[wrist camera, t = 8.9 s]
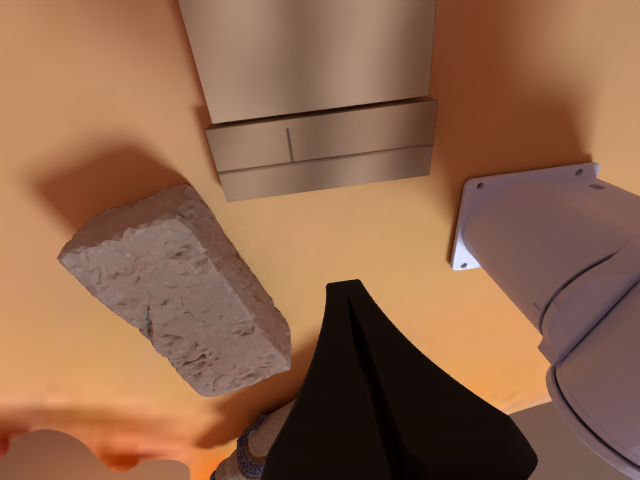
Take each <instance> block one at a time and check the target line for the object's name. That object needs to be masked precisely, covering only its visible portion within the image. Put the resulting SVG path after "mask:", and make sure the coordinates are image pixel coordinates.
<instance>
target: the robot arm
mask: <svg viewBox="0 0 640 480" xmlns="http://www.w3.org/2000/svg"><path fill="white" fill-rule="evenodd" d="M599 169H600V165H599V164H597V163H595V162H589V163H581V164H574V165H567V166H559V167H552V168H545V169H537V170H530V171H523V172H515V173H508V174H501V175H493V176H486V177H479V178H472V179H469V180H468V181H466V183H465V184H464V188H463V194H462V200H461V205H460V211H459V217H458V223H457V228H456V234H455V240H454V245H453V251H452V257H451V262H450V267H451V268H452V269H453V270H455V271H458V270H465V269H472V268H478V267H482V268H483V269H484V270H485V271H486V272H487V273H488V275H489V276H490V277H491V278H492V279H493V280H494V281H495V282H496V284H497V285H498V286H499V287H500V288H501V289H502V290H503V292H504V293H505V294H506V295H507V296H508V297H509V298H510V299H511V301H512V302H513V303H514V304H515V305H516V306H517V307H518V309H519V310H520V311H521V312H522V313H523V314H524V315H525V316H526V318H527V319H528V320H529V321H530V322H531V323H532V324H533V325H534V327H535V328H536V329H537V330H538V331H539V332H540V333H541V335H542V336H543V339H542V341H541V343H540V345H539V346H538V349H539V350H540V352H541V353H542V354H543V355H544V356H545V358H546V359H547V360H548V361H549V362H550V364H551V366H550V367H549V369H548V371H547V373H546V386H547V389H548V392H549V395H550V397H551V399H552V401H553V403H554V405H555V407H556V408H557V410H558V411H559V413H560V414H561V416H562V417H563V419H564V420H565V421H566V423H567V424H568V425H569V427H570V428H571V429H572V430H573V431H574V433H576V435H577V436H578V437H579V438H580V439H581V440H582V441H583V442H584V443H585V444H586V445H587V446H588V447H590V449H592V450H593V451H594V452H595V453H596V454H598V455H599V456H600V457H601V458H603V459H604V460H605V461H607V462H608V463H609V464H611V465H612V466H614V467H615V468H616V469H618V470H619V471H621V472H623V473H624V474H626V475H627V476H629V477H631V478H632V479H634V480H640V196H638V195H635V194H633V193H631V192H628V191H626V190H624V189H621V188H619V187H617V186H614V185H612V184H610V183H607V182H605V181H602V180H600V179H598V178H596V177H597V174H598V172H599ZM577 170H578V171H577ZM576 171H577V172H576ZM479 183H481V185H480V186H479V187H477V185H478V184H479ZM463 263H464V264H463ZM462 264H463V265H462ZM537 463H538V459H537V455H536V454H535V452H534V450H533V449H532V447H531V445H530V444H529V442H528V441H527V439H526V438H525V436H524V435H523V434H522V433H521V431H520V430H519V428H518V427H517V426H516V424H515V423H514V422H513V420H512V419H511V418H510V417H509V416H508V415H506V414H505V413H503V412H501V411H500V410H498V409H497V408H495V407H494V406H492V405H490V404H489V403H487V402H486V401H484V400H483V399H481V398H480V397H478V396H477V395H475V394H474V393H473V392H471V391H470V390H468V389H467V388H466V387H464V386H463V385H461V384H460V383H459V382H457V381H456V380H455V379H453V378H452V377H451V376H450V375H448V374H447V373H446V372H444V371H443V370H442V369H441V368H439V367H438V366H437V365H436V364H434V363H433V362H432V361H431V360H430V359H429V358H427V357H426V356H425V355H424V354H423V353H422V352H421V351H419V350H418V349H417V348H416V347H415V346H414V345H413V344H412V343H411V342H410V341H409V340H408V339H407V338H406V337H405V336H404V335H403V334H402V333H401V332H400V331H399V330H398V329H397V328H396V327H395V326H394V324H393V323H392V322H391V321H390V320H389V319H388V318H387V316H386V315H385V314H384V313H383V312H382V310H381V309H380V308H379V307H378V305H377V304H376V303H375V301H374V300H373V299H372V297H371V296H370V295H369V293H368V292H367V290H366V289H365V287H364V285H363V284H362V282H361V281H360V280H359V279H355V280H348V281H341V282H334V283H328V284H327V285H326V305H325V312H324V318H323V323H322V328H321V331H320V335H319V339H318V343H317V346H316V350H315V353H314V356H313V359H312V362H311V365H310V367H309V370H308V372H307V375H306V377H305V380H304V382H303V385H302V387H301V390H300V392H299V394H298V396H297V398H296V400H295V402H294V405H293V407H292V409H291V411H290V413H289V415H288V417H287V419H286V421H285V423H284V425H283V426H282V428H281V430H280V432H279V433H278V435H277V437H276V439H275V441H274V442H273V444H272V446H271V448H270V450H269V451H268V454H267V458H266V461H265V465H264V468H263V472H262V476H261V480H527V479H528V477H530V475H531V474H532V472H533V471H534V470H535V468H536V465H537Z"/></svg>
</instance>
